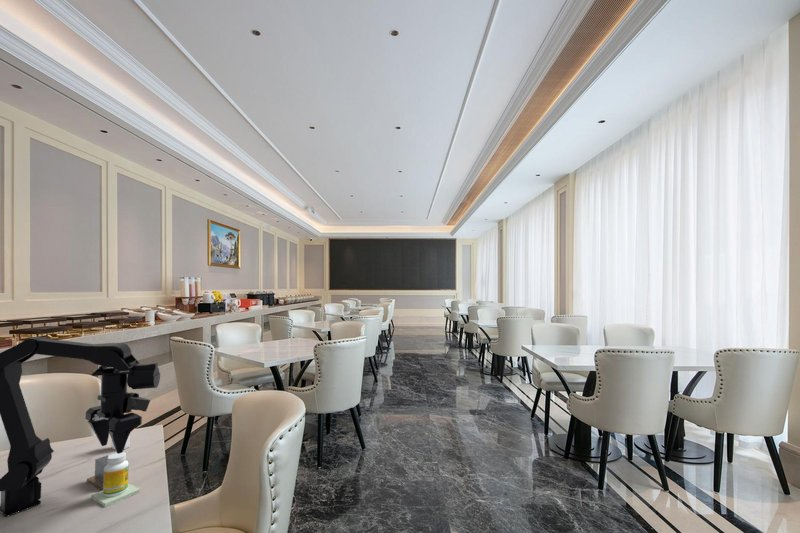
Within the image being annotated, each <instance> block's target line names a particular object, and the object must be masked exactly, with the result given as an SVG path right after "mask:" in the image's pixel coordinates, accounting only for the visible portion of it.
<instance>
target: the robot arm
mask: <svg viewBox="0 0 800 533" xmlns="http://www.w3.org/2000/svg"><path fill="white" fill-rule="evenodd" d="M35 355H40V356H50V357H59V358H69V359H77V360H84V361H88V362H90V363H92V364H93V365H97V366H99V367H98V368H97V369H96V370H95V371H93V372H92V373H91V376H93V377H95V376H96V377H98V376H99V377H100V376H101V380H100V394H99V395H97V400H98V401H100V405H97V406H93V407H89V408H88V409H87V410H86V411H85V420H87V423H88V424H89V426H90V428H91V429H92V431H93V434H95V436H96V438H97V440H98V442H99V444H100V446H102V447H104V446H107V445H108V441H109V436H110V438H111V442H112V441H113V444H114V447H115V449H116V450H115V453H118V454H119V453H122V452H124V450H125V449H124V447H125V444H126V442H127V439H128V437H129V434H130V435H131V432H132V431H133V430H134V429H137V428H138V427H139V426H141V425H142V421H143V417H142V416H141V415H139V414H138V413H134V412H132V411H141V412H147V411H148V407H149V405H150V402H151V399H148V398H145V397H141V396H140V395H139V394H140V393H137V392H132V391H131V392H128V388H131V389H132V390H143V389H157V388H158V386H159V384H160V380H161V372H160V369H159V367H158V362H151V363H140V362H139V360H138V359H137V358H136V357H135V355H134V354H132V350H131V348H130V346H129V344H127V343H124V342H112V343H111V342H106V343H86V342H78V341H77V342H76V341H71V340H70V341H69V340H61V339H54V338H53V339H52V338H46V337H44V336H43V337H42V336H34V337H31V338H26V339H24V340H22V341H21V342H19V343H18V344H16V345H14V346H11V347H10V348H8V349H5V350H3V351H1V352H0V419H1V421H2V425H3V427H4V431H5V434H6V436H7V437H6V438H7V439H8V440H7V441H8V442H9V445H10V446H9V447H10V448H9V451H8V456H7V460H6V463H7V464H6V465H7V471H6V473H5V474H4V475H3V476H2V477H1V478H0V511H1V512H2V513H1V512H0V513H1V514H2V515H3V514H4V515H5V516H4V515H3V516H4V517H9V516H8V515H10V516H12V515H14V513H15V514H17V513H16V512H18V511H20V512H22V510H23V511H25V509H26V510H28V509H30V508H33V507H36V506H38V505H41V503H42V502H41V500H40V499H41V498H42V482H41V481H39V480H40V477H38V475H40V474H42V472H43V471H44V468H46V466H48V465H49V463H50V462H51V460H52V459H53V458H52V456H53V453H54V452H55V450H53V448H52V446H51V442H50V441H51V440H50V438H48V437H47V438H45V439H41V438H40V437H39V436H38V435H37V434H36V432H35V430H34V426H33V422H32V419H31V417H30V412H29V410H28V407H27V403H26V401H25V398H24V394H23V392H22V389H21V386H20V382H21V378H22V374H23V367H22V364H23V363H25V362H26V361H28V360H30V359H31V358H33V357H34V356H35ZM27 508H28V509H27ZM18 513H19V512H18ZM11 514H12V515H11Z"/></svg>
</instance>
